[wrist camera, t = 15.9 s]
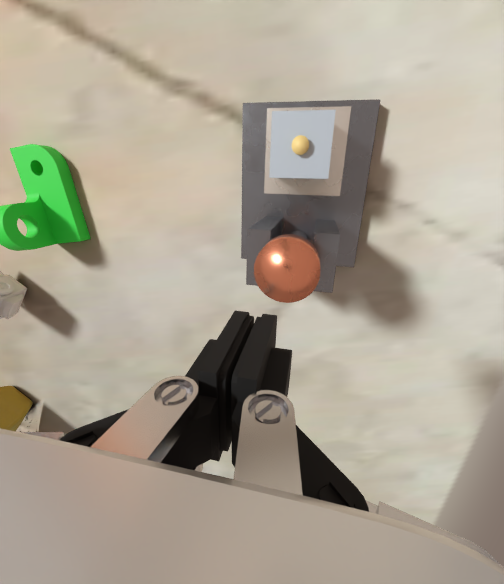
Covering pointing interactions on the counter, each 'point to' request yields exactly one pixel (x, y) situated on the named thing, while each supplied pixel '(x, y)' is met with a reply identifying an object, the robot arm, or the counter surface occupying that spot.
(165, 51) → the counter surface
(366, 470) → the counter surface
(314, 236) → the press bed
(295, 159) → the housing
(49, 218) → the mechanical part
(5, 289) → the grey blocky fitting
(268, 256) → the ram
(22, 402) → the flower pot
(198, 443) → the robot arm
